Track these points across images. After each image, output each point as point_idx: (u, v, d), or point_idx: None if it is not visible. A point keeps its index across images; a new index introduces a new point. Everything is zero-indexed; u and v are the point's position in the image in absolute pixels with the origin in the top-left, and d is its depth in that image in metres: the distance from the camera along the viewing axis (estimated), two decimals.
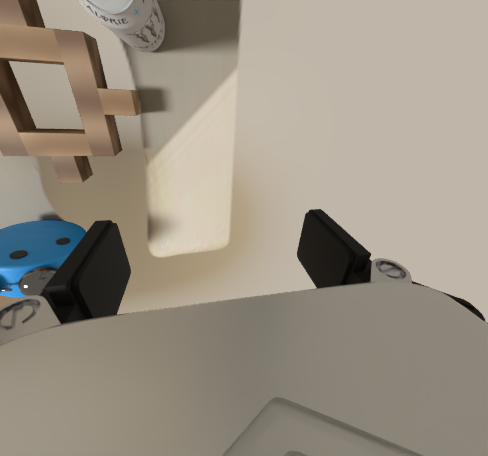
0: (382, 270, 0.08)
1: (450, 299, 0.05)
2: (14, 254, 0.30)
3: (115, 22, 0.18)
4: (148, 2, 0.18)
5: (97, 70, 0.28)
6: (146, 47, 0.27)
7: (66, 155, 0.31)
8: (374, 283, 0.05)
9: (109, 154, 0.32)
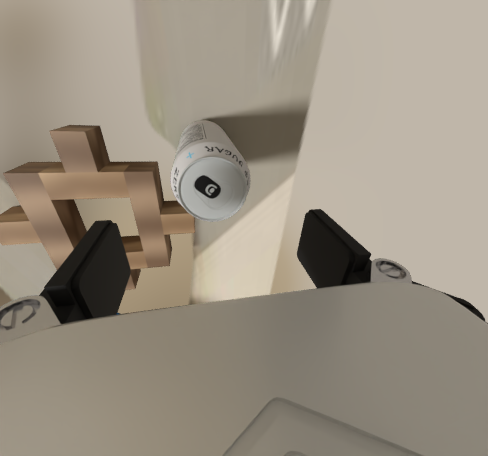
0: (382, 270, 0.08)
1: (450, 299, 0.05)
2: None
3: None
4: (246, 193, 0.18)
5: (159, 194, 0.27)
6: None
7: None
8: (374, 283, 0.05)
9: (164, 265, 0.31)
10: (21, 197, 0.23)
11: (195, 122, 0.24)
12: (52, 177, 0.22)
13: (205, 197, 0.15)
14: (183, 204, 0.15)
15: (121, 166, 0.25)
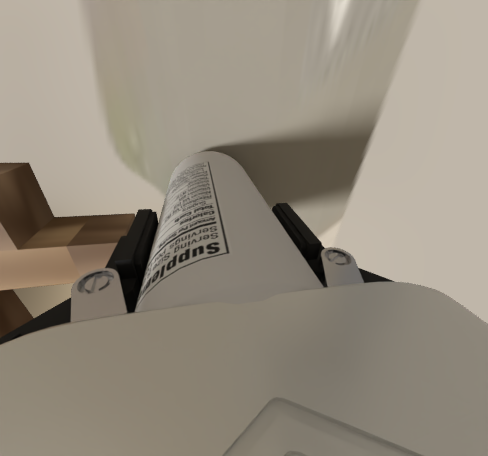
0: (331, 259, 0.08)
1: (450, 299, 0.05)
2: None
3: None
4: None
5: None
6: None
7: None
8: (374, 283, 0.05)
9: None
10: None
11: (195, 156, 0.14)
12: None
13: None
14: None
15: (69, 229, 0.15)
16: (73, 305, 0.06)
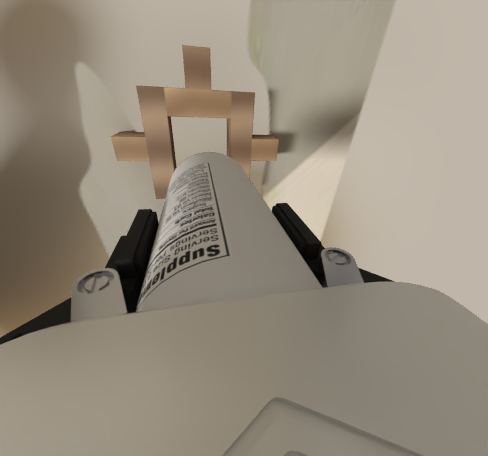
0: (331, 259, 0.08)
1: (450, 299, 0.05)
2: None
3: None
4: None
5: None
6: None
7: None
8: (374, 283, 0.05)
9: None
10: (144, 111, 0.26)
11: (195, 157, 0.14)
12: (174, 92, 0.26)
13: None
14: None
15: None
16: (73, 305, 0.06)
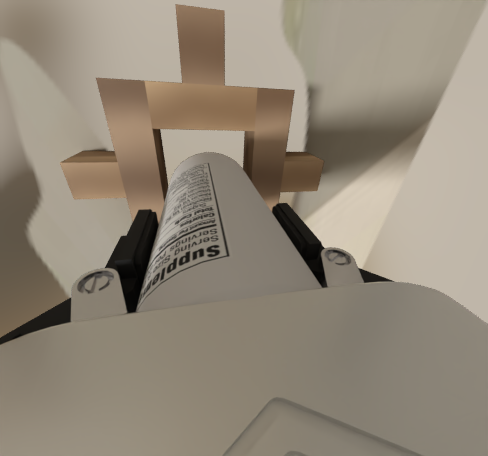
0: (331, 259, 0.08)
1: (450, 299, 0.05)
2: None
3: None
4: None
5: None
6: None
7: None
8: (374, 283, 0.05)
9: None
10: (113, 121, 0.16)
11: (195, 158, 0.14)
12: (162, 90, 0.15)
13: None
14: None
15: None
16: (73, 305, 0.06)
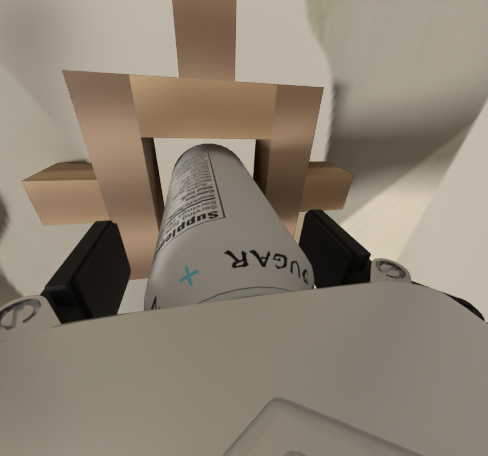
0: (382, 270, 0.08)
1: (450, 299, 0.05)
2: None
3: None
4: None
5: None
6: None
7: None
8: (374, 283, 0.05)
9: None
10: (89, 128, 0.12)
11: (196, 148, 0.15)
12: (153, 87, 0.11)
13: None
14: None
15: None
16: None
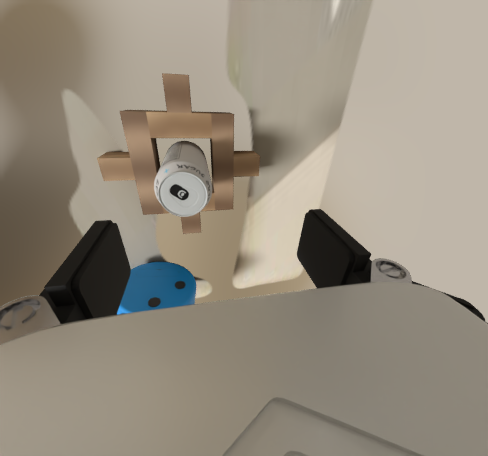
0: (382, 270, 0.08)
1: (450, 299, 0.05)
2: (151, 302, 0.34)
3: None
4: (210, 196, 0.24)
5: None
6: None
7: None
8: (374, 283, 0.05)
9: (229, 208, 0.36)
10: (128, 134, 0.27)
11: (177, 143, 0.31)
12: (156, 116, 0.27)
13: (178, 199, 0.22)
14: (162, 204, 0.22)
15: (205, 112, 0.30)
16: None
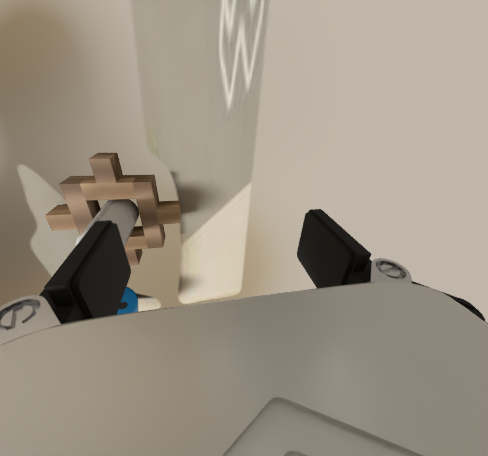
0: (382, 270, 0.08)
1: (450, 299, 0.05)
2: None
3: None
4: None
5: (155, 196, 0.41)
6: None
7: (129, 249, 0.43)
8: (374, 283, 0.05)
9: (159, 246, 0.44)
10: (67, 198, 0.36)
11: (111, 200, 0.40)
12: (88, 186, 0.36)
13: None
14: None
15: (130, 178, 0.38)
16: None
